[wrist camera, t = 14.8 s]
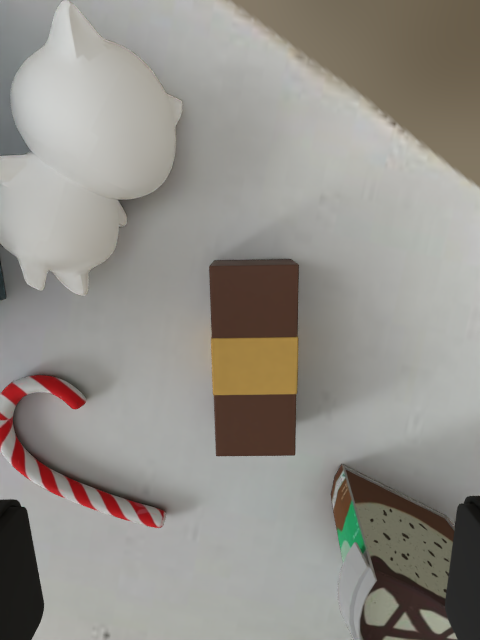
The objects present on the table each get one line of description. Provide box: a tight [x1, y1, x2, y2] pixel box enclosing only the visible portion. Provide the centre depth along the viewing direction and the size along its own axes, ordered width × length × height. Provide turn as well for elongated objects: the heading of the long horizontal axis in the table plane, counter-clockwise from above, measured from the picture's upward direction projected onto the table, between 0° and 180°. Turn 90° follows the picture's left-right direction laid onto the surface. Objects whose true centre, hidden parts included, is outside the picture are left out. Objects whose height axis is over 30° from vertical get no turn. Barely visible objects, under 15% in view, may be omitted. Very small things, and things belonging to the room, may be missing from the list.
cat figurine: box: [0, 0, 183, 296], centre depth 21 cm, size 9×11×12 cm
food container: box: [331, 464, 458, 640], centre depth 25 cm, size 12×6×10 cm, turn 62°
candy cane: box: [0, 375, 166, 528], centre depth 28 cm, size 8×1×15 cm
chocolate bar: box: [209, 259, 299, 456], centre depth 25 cm, size 5×12×4 cm, turn 1°
